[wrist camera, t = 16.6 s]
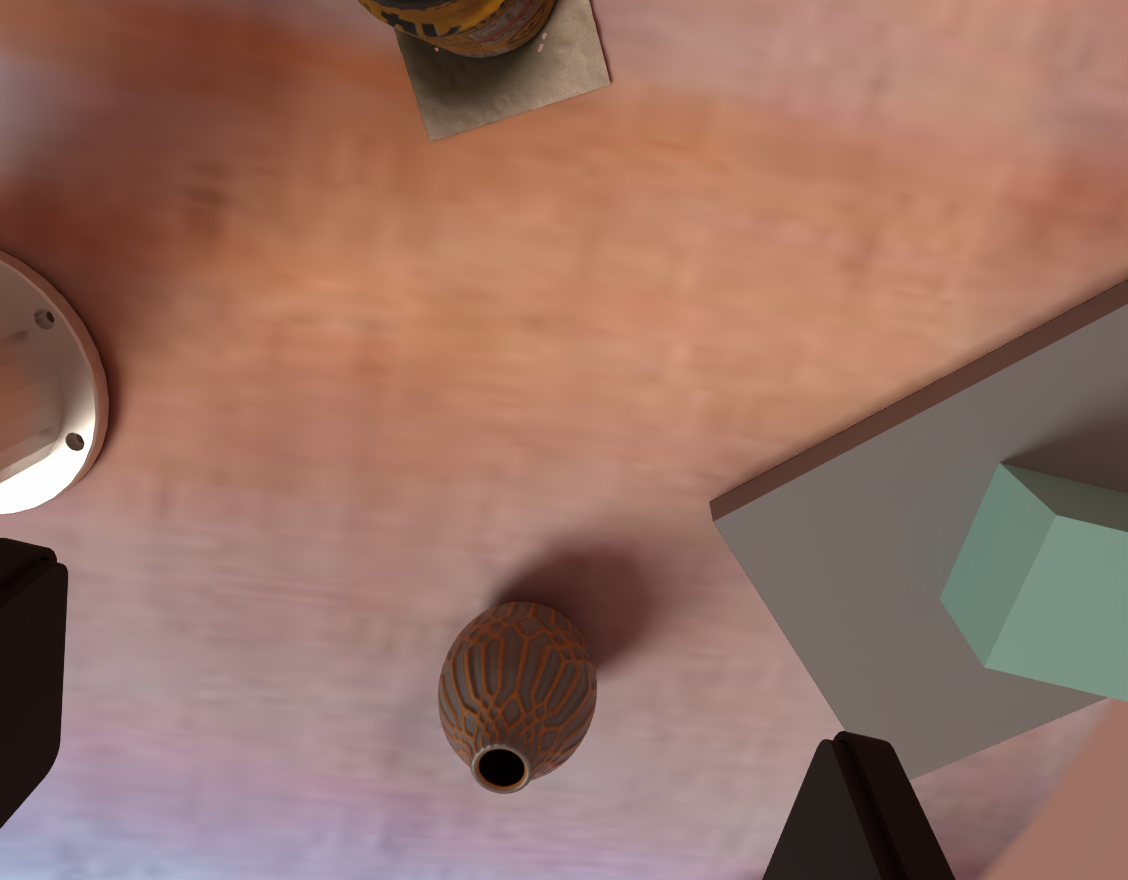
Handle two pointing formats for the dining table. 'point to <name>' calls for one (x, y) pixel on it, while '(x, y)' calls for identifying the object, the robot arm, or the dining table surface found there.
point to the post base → (930, 533)
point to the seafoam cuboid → (1046, 582)
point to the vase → (517, 694)
